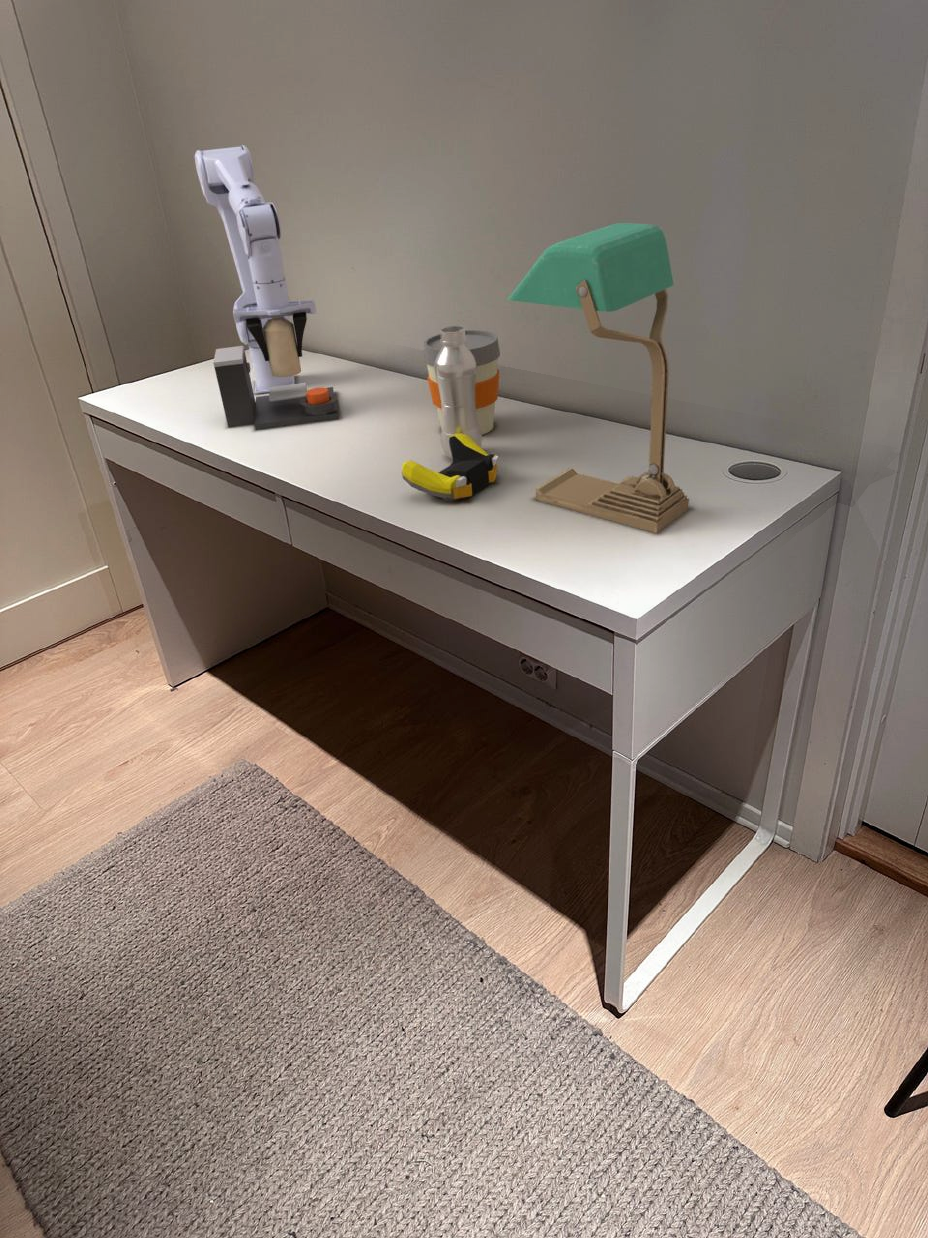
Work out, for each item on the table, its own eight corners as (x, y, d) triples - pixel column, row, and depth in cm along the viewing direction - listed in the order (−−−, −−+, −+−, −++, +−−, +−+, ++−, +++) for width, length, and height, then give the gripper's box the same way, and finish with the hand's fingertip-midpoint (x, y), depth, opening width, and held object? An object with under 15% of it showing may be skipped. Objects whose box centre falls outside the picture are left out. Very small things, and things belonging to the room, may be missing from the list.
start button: (307, 399, 162) (305, 388, 160) (329, 396, 162) (327, 386, 161) (308, 406, 158) (306, 395, 157) (330, 403, 159) (328, 392, 158)
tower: (230, 409, 168) (216, 346, 162) (308, 399, 170) (297, 336, 164) (228, 427, 160) (213, 362, 153) (310, 416, 161) (298, 351, 155)
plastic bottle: (491, 453, 140) (484, 326, 129) (463, 467, 136) (452, 337, 125) (462, 445, 144) (452, 320, 133) (433, 458, 140) (421, 331, 129)
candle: (298, 376, 160) (288, 320, 155) (269, 378, 160) (258, 322, 155) (303, 367, 165) (294, 312, 159) (275, 369, 165) (264, 315, 160)
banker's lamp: (641, 544, 111) (652, 251, 92) (512, 507, 123) (498, 240, 104) (701, 498, 121) (722, 224, 102) (575, 468, 133) (573, 217, 114)
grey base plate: (257, 402, 171) (253, 387, 169) (335, 392, 172) (333, 377, 171) (255, 430, 157) (252, 414, 156) (341, 419, 159) (338, 403, 157)
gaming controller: (398, 498, 128) (452, 512, 123) (394, 463, 125) (449, 476, 120) (459, 461, 138) (511, 473, 133) (456, 428, 135) (510, 438, 130)
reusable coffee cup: (518, 428, 148) (514, 339, 140) (455, 447, 143) (447, 356, 135) (478, 409, 158) (472, 325, 149) (418, 427, 152) (408, 340, 144)
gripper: (226, 289, 149) (243, 368, 157) (311, 279, 151) (323, 358, 158) (228, 281, 155) (244, 357, 163) (309, 272, 157) (322, 348, 164)
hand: (283, 357), depth 161 cm, fingers closed on candle, 5 cm apart
